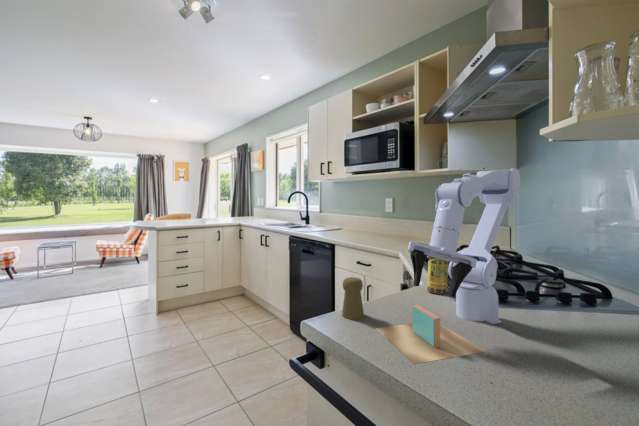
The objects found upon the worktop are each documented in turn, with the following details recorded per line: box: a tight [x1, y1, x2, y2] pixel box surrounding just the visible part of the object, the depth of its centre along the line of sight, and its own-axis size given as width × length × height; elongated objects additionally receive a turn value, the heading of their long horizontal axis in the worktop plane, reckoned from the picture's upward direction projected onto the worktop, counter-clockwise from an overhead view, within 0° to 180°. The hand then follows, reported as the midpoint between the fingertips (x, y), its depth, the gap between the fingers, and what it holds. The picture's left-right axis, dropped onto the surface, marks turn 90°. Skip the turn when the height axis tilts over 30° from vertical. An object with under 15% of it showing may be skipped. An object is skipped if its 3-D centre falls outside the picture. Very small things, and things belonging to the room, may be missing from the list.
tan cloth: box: [375, 322, 487, 365], centre depth 63 cm, size 16×16×1 cm
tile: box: [412, 304, 441, 348], centre depth 63 cm, size 1×8×6 cm, turn 15°
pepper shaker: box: [341, 276, 365, 321], centre depth 77 cm, size 6×6×11 cm
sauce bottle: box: [426, 255, 449, 295], centre depth 100 cm, size 6×6×20 cm
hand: (433, 291), depth 65 cm, fingers open, 7 cm apart
